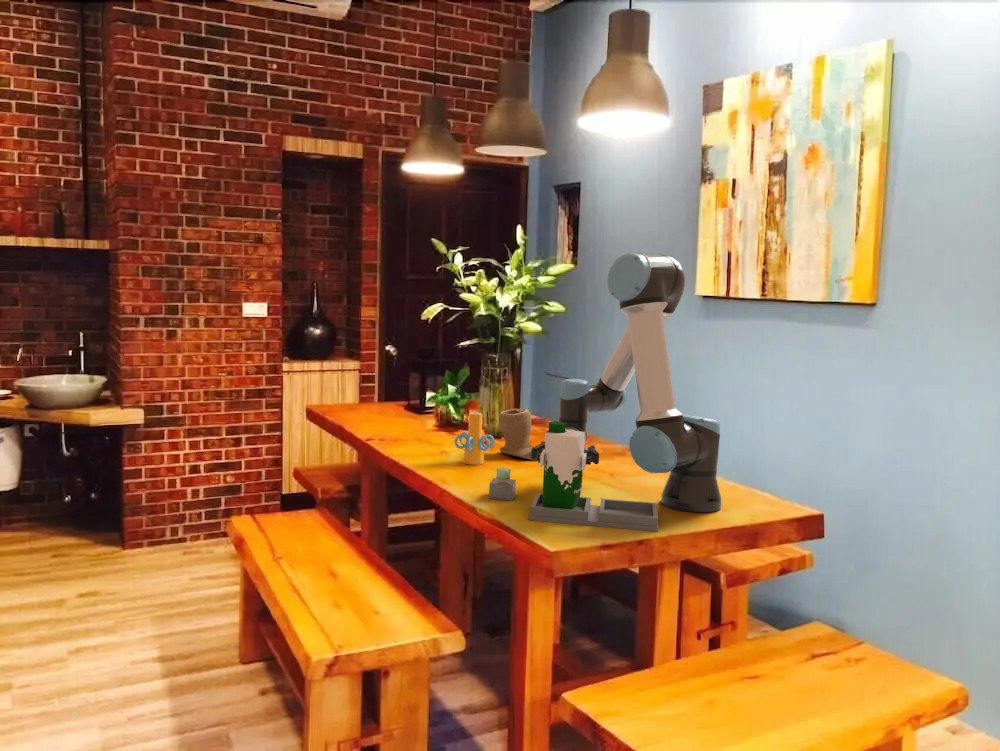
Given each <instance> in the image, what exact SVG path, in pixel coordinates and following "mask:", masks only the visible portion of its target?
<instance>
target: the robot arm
mask: <svg viewBox="0 0 1000 751" xmlns="http://www.w3.org/2000/svg"><path fill="white" fill-rule="evenodd" d="M606 282H607V288H608V290H609V293H610V295H611V296H612V297H613V298H614V299H615V300H617V301H618V302H619V308H620V312H621V313H622V314H623V315H625V316H626V317H627V322H628V327H627V328H626V330H625V332H624V334H623V335H622V338H621V339H620V341H619V343H618V344H617V347H616V348H615V350H614V352H613V354H612V355H611V357H610V358H609V361H608V363H607V365H606V367H605V368H604V371H603V372H602V374H601V376H600V378H599V379H598V381H597V383H596V384H595V385H594V384H593V385H590V382H589V381H588V380H585V379H579V378H567V379H566V378H565V379H564V380H562V382H561V387H560V394H559V397H560V398H559V416H558V417H559V419H558V422H564V423H566V427H565V429H566V430H575V431H580V432H585V436H584V445H585V444H586V442H587V440H588V432H587V427H588V426H587V425H588V424H587V422H588V414H594V413H602V412H604V413H605V412H607V413H608V412H612V411H616V410H620V409H621V408H622V407H624V405H625V404H626V402H627V400H626V399H627V392H626V388H627V386H628V385H629V382H630V381H631V379H633V378H632V377H633V376H634V374H635V379H636V387H637V396H638V403H639V409H640V413H639V414H638V416H637V417H636V418H635V427H636V428H635V430H634V431H633V432H632V434H631V436H630V438H629V442H628V443H629V444H628V446H629V453H630V456H631V458H632V460H633V461H634V463H635V464H636V466H638V467H639V468H641V470H643V471H645V472H647V473H650V474H667V473H669V474H668V478H667V480H666V483H665V484H664V487H663V489H662V493H661V499H660V500H661V501H660V502H661V504H662V505H663V506H666V507H668V508H670V509H674V510H678V511H683V512H690V513H691V512H692V513H711V512H712V513H713V512H716V511H719V510H720V509H721V508H722V496H721V492H720V488H719V484H718V480H717V471H718V463H719V462H718V461H719V449H720V438H721V430H720V429H721V424H720V423H719V421H718V420H716V419H713V418H709V417H704V416H703V417H702V416H697V415H690V414H683V413H682V412H681V411H679V410H678V409H677V407H676V400H675V393H674V387H673V381H672V373H671V365H670V358H669V356H670V355H669V349H668V343H667V336H666V329H665V320H666V318H667V317H668V316H669V315H673V314H674V312H675V311H676V309H677V307H678V305H679V303H680V301H681V299H682V298H683V297H682V296H683V295H684V291H685V287H686V276H685V271H684V269H683V267H682V265H681V263H679V261H678V260H677V259H675V258H674V257H671V256H670V255H665V254H653V253H643V252H635V253H634V252H631V253H625V254H622V255H621V256H619V257H618V258H616V259H615V261H613V264H612V266H610V268H609V270H608V273H607V281H606ZM531 458H532V459H536V458H537V460H536V461H537V462H538V464H539V467H541V468H544V461H545V441H541V442H540V443H539V444H538V445H536V446H533V448H532V451H531ZM599 461H600V453H599V452H598V450H597V449H596V446H595V445H590V446H587V448H586V447H585V446H584V454H583V457H582V470H583V471H585V470H586V466H588V465H589V466H590V465H591V464H592V463H593V464H595V465H598V464H599V463H600V462H599Z"/></svg>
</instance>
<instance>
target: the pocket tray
mask: <svg viewBox="0 0 1000 751" xmlns="http://www.w3.org/2000/svg"><path fill="white" fill-rule="evenodd" d="M591 499H592V497H590V496H588V497H587V496H580V499H579V504H578V505H577V506H576V507H575V508H574V509H573V510H572V509H560V508H549V507H543V492H542V493H540V492H536V493H535V496H534V498H533V500H532V503H531V505H530V509H529V510H530V511H529V514H528V521H536V522H548V523H557V524H571V525H581V526H592V527H603V528H605V527H606V528H613V529H615V528H616V529H626V530H627V529H628V530H637V531H646V532H647V531H648V532H659V515H658V505H657V504H658V503H657V502H648V501H639V500H638V501H634V500H623V499H612V498H600V503H599V504H600V505H597V504H591V502H592V500H591Z"/></svg>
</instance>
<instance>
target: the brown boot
mask: <svg viewBox="0 0 1000 751" xmlns="http://www.w3.org/2000/svg"><path fill="white" fill-rule="evenodd" d="M498 421H499V427H500V429H501V431H502V435H503V438H504V445H503V446H502V447H500V448H499V451H500V452H501V453H503V454H506V455H508V456H513V457H518V458H521V459H527V460H531V461H538V460H537V458H536V459H532V458H531V451H532V448H533V447H534V446H532V445H531V444H530V438H531V437H530V436H531V430H532V415H531V412H530V410H529V409H527V408H523V409H520V408H511V409H507V410H503V411H501V412H500V413H499V415H498Z"/></svg>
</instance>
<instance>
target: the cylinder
mask: <svg viewBox="0 0 1000 751" xmlns="http://www.w3.org/2000/svg"><path fill="white" fill-rule="evenodd" d="M483 415H484V414H483V413H481V412H474V411H473V412H469V413H468V428H467V430H468V431H467V432H462V433H460V434H458V435H457V436H456V437H455V439H454V445H455V447H456V448H458V449H461V450H463V463H464V464H467V465H471V466H478V465H479V466H481V465H483V464H484V463H485V452H486V451H488V450H489V449H491V448H492V447H493V446H494V444H495V438H494V436H493V435H491V434H484V435H483ZM463 438H464V440H465V443H464V441H463ZM458 440H459V443H460V444H459V443H458ZM484 440H485V442H486V444H484ZM490 440H491V443H490Z"/></svg>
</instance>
